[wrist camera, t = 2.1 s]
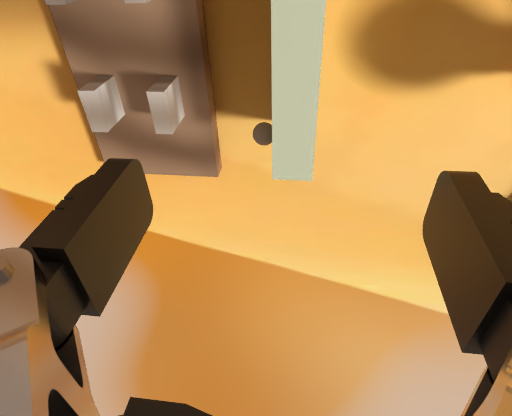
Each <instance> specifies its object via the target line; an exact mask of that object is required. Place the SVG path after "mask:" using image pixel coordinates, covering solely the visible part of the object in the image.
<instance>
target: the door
mask: <svg viewBox="0 0 512 416" xmlns="http://www.w3.org/2000/svg"><path fill="white" fill-rule="evenodd" d="M325 7H326V0H271V63H272V125H271V124H269V123H266V122H262V123H259V124H258V125H256V127H255V128H254V130H253V138H254V140H255V141H256V142H257V143H258V144H260V145H268V144H270V143H271V142H272V177H273V179H279V180H302V181H312V176H313V163H314V150H315V137H316V124H317V111H318V98H319V85H320V72H321V59H322V46H323V33H324V20H325Z"/></svg>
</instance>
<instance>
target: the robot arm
mask: <svg viewBox="0 0 512 416" xmlns="http://www.w3.org/2000/svg"><path fill="white" fill-rule="evenodd" d="M152 216H153V204H152V200H151V196H150V193H149V189H148V185H147V182H146V178H145V175H144V171H143V168H142V165H141V163H140V161H139V160H137V159H123V158H109V159H108V160H107V161H106V162H105V163H104V164H103V165H102V166H101V167H100V169H99V170H98V171H97V172H96V173H95V174H94V175H91V176H89V177H87V178H86V179H84V180H83V181H81V182H79V183H78V184H76V185H75V186H74V187H73V188H72V189H71V190H70V192H69V193H68V194H67V195H66V196H65V197H64V200H61V201H60V203H59V204H58V205H57V206H56V207H55V210H52V211H51V212H50V214H49V215H48V216H47V217H46V218H45V219H44V220H43V221H42V223H40V225H39V226H38V227H37V228H36V229H35V230H34V231H33V232H32V233H31V234H30V236H29V237H28V238H27V239H26V240H25V241H24V242H23V243H22V244H21V246H20V247H19V248H6V249H1V250H0V416H100V415H99V412H98V410H97V408H96V406H95V404H94V401H93V398H92V394H91V390H90V385H89V380H88V375H87V370H86V365H85V360H84V355H83V350H82V345H81V340H80V335H79V330H78V328H77V326H76V325H75V324H76V322H77V321H78V319H79V317H80V316H81V315H90V316H100V315H101V313H102V312H103V310H104V308H105V306H106V304H107V302H108V301H109V298H110V297H111V295H112V293H113V291H114V290H115V288H116V286H117V284H118V282H119V280H120V279H121V277H122V275H123V273H124V271H125V269H126V267H127V265H128V264H129V262H130V260H131V258H132V256H133V255H134V253H135V251H136V249H137V247H138V245H139V244H140V242H141V240H142V238H143V236H144V234H145V233H146V231H147V229H148V227H149V225H150V223H151V220H152ZM423 239H424V242H425V245H426V248H427V251H428V254H429V257H430V260H431V263H432V266H433V269H434V272H435V275H436V278H437V281H438V284H439V286H440V289H441V292H442V295H443V298H444V301H445V304H446V307H447V310H448V313H449V316H450V318H451V322H452V324H453V328H454V330H455V333H456V336H457V339H458V342H459V345H460V348H461V351H462V352H463V353H472V354H482V355H484V358H485V361H486V363H487V367H486V369H485V370H484V371H483V373H482V375H481V377H480V379H479V381H478V383H477V385H476V387H475V389H474V391H473V393H472V395H471V397H470V399H469V401H468V403H467V405H466V407H465V409H464V411H463V413H462V415H461V416H512V203H511V202H510V201H509V200H507V199H506V198H505V197H503V196H502V195H500V194H499V193H491V191H490V190H489V188H488V187H487V185H486V184H485V182H484V181H483V179H482V178H481V176H480V175H479V174H478V173H477V172H462V171H443V172H441V173H440V175H439V177H438V179H437V182H436V185H435V188H434V191H433V194H432V197H431V199H430V202H429V205H428V208H427V211H426V214H425V217H424V221H423ZM119 416H212V415H209V414H207V413H205V412H203V411H201V410H198V409H196V408H194V407H192V406H189V405H187V404H183V403H174V402H166V401H158V400H150V399H142V398H133V397H130V399H129V402H128V405H127V407H126V410H125V412H124V415H119Z"/></svg>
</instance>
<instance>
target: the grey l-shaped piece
mask: <svg viewBox="0 0 512 416" xmlns="http://www.w3.org/2000/svg"><path fill="white" fill-rule="evenodd" d="M45 3H46V5H48V6H49V9H50V12H51V15H52V17H53V20H54V23H55V26H56V29H57V31H58V34H59V37H60V40H61V43H62V45H63V48H64V51H65V54H66V57H67V59H68V62H69V65H70V68H71V71H72V73H73V76H74V79H75V82H76V85H77V87H78V90H77V92H78V94H79V97H80V100H81V103H82V105H83V108H84V111H85V114H86V117H87V119H88V122H89V125H90V128H91V130H92V132H94V135H95V138H96V140H97V143H98V146H99V149H100V152H101V154H102V157H103V160H104V163H105V162H106V161H107V160H108V159H109V158H123V159H137V160H139V161H140V163H141V165H142V168H143V171H144V174H162V175H184V176H207V177H218V176H219V173H220V171H221V168H222V166H221V157H220V149H219V140H218V131H217V123H216V114H215V105H214V96H213V88H212V79H211V70H210V62H209V53H208V44H207V36H206V27H205V18H204V10H203V1H202V0H45Z"/></svg>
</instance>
